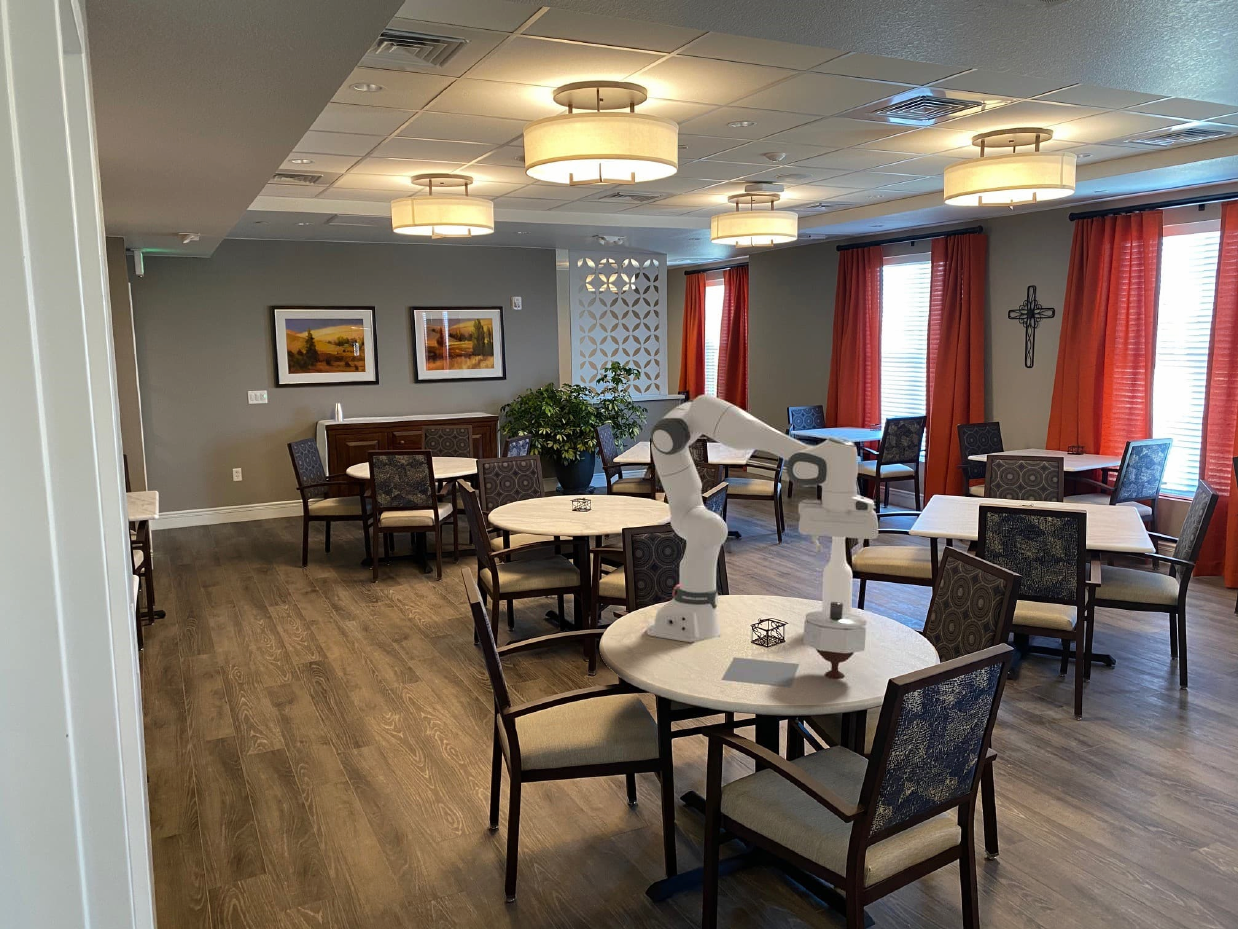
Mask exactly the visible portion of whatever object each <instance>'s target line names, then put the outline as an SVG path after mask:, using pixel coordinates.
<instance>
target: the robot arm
mask: <svg viewBox="0 0 1238 929" xmlns="http://www.w3.org/2000/svg"><path fill="white" fill-rule="evenodd" d="M702 435H704V436H707V437H708V438H711V440H713V441H715V442H717V443H719V444H720V445H722V446H724V447H728V448H731V449H734V450H737V451H738V450H739V451H742V450H743V451H744V450H749V451H750V450H757V451H764V452H768V453H771V454H773V455H774V456H778V457H780V458H781V459H783V460H785V461H787V462H786V466H785V471H786V474H787V477H788V479H789V480H790V482H791V483H793V484H794V485H795V486H799V487H805V488H806V487H811V486H817V485H818V486H820V487H821V489H822V490H821V499H806V498H805V499H804V500H801V501H800V502H799V503H798V508H797V509H798V510H797V511H798V514H799V521H798V522H799V523H798V532H799V534H800V535H804V536H806V535H807V536H811V541H812V542H813V544H814V546H815V552H816V553H823V544H819V540H818V539H819V537H821V536H822V537H833V536H834V537H845V538H850V539H857V542H858V544H857V545H856V546H853V547H852V555H854V556H859V555H860V549H861V547H862V545H863V544H864V541H865V540H867V539H868V540H875V539H877V538H878V536H879V524H878V523H879V522H878V516H877V513H876V511H875V510H874V508H875V502H874V500H873V499H871V498H868V497H864V496H862V495H859V494H858V489H857V488H858V487H857V478H858V473H859V463H858V462H859V457H858V450H857V446H856V445H855V443H853V442H852V441H850V440H847V439H843V438H836V437H830V438H827V439H826V440H825V441H823V442H821V443H819V444H809V443H805V442H803V441H801V440H799V439H797V438H794V437H792V436H790V435H788V434H786V433H783V432H782V431H779V430H777V429H776V428H773V427H771V425H770V426H769V425H768V424H766V423H765V422H763V421H762V420H760V419H758V418H757V417H755V416H753V415H752V414H750V413H748V411H745V410H743V409H742V408H740V407H738V406H736V405H735V404H732V403H730V401H729V402H728V401H726V400H724V399H722V398H720V397H716V396H712V395H709V394H701V395H698V396H697V397H695V398H692V399H688V400H686V401H684V402H682V403H681V404H680V405H677V406H676V407H674V408H673V409H671V410H670V411H669V412H668V413H667V414H666V415H664V416H663V417H662V418H661V419H659V420H658V421H657V422H655V424H654V425H653V427H652V429H651V431H650V440H651V446H650V447H651V454H652V455H651V456H652V459H653V462H654V465H655V469H656V472H657V475H658V477H659V480H660V482H661V486H662V488H663V491H664V492H665V495H666V499H667V501H668V507H669V512H670V520H669V521H670V526H671V528H672V530H674V532H675V533H676V534H677V536H679V537H680V538H682V539H684V540H685V541H686V544H685V546H686V547H685V550H684V554H683V557H682V559H681V561H680V562H679V583H678V584H676V585H675V586H674V588H673V591H672V597H673V598H672V599H671V600H670V601H668V602H666V603H665V604H664V605H662V606H661V607H660V608H659V609H657V612H656V614H655V617H654V621H653V622H651V623H650V624H649V625H648V626H647V629H646V634H647V635H648V636H651V637H657V638H662V639H668V640H674V641H681V642H685V643H694V642H698V641H705V640H712V639H716V638H718V637H720V636H721V634H722V632H721V628H720V625H719V619H718V611H717V610H718V609H717V607H718V604H719V602H718V601H719V599H718V598H719V597H718V596H719V594H718V588H717V565H718V564H717V563H718V560H719V559H718V557H719V554H720V550H721V546H723V544H724V543H725V541H726V540H727V537H728V534H729V531H728V526H727V525H728V524H727V522H725V521H724V519H723V518H722V517H721V516H720V514H718V513H716V512H714V511H712V510H709V509H707V507H706V506H705V504H704V502H703V497H702V496H703V495H702V488H703V483H702V481H701V478H700V475H699V472H698V470H697V468H696V465H695V463H694V459H693V457H692V455H691V453H690V449H689V448H690V447H689V446H691V445H692V444H693V443H696V441H697V439H699V438H700V437H702Z"/></svg>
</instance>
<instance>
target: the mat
mask: <svg viewBox="0 0 1238 929" xmlns="http://www.w3.org/2000/svg"><path fill="white" fill-rule="evenodd" d="M799 665H800V663H796V662H795V663H794V662H793V663H792V662H784V661H774V660H773V661H772V660H765V659H755V658H754V659H753V658H746V657H745V658H744V657H737V656H736V657H735V656H734V657H733V658H732V660H731V662H730V664H729V666H728V667H727V669H726V671H725V673H724V675H722V677H721V681H729V682H738V683H748V684H755V685H765V686H766V685H767V686H773V687H775V686H776V687H784V688H791V687H792V686H793V682H794V680H795V677H796V674H797V670H798V668H799Z"/></svg>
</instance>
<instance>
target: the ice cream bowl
mask: <svg viewBox="0 0 1238 929" xmlns="http://www.w3.org/2000/svg"><path fill="white" fill-rule="evenodd" d="M815 650H816V652H817V653H818V654H819V655H820V656H821V657H822V658H823V659H824V660H825V661H826V662H830V664H831V667H830V668H831V669H830V670H828V671H826V672H825V673H824V674H823V676H825V677H826V678H828V679H832V680H841V679H844V678H845V677H846V675H845V674H844V673H843V672H841V671H840V670H839V665H840V663H844V662H846V661H848V660H849V659H850V658H851V657H852V656H853V655H854V653H855V652H852V653H838V652H830V651H822V650H818V649H815Z"/></svg>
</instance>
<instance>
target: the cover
mask: <svg viewBox="0 0 1238 929" xmlns="http://www.w3.org/2000/svg"><path fill="white" fill-rule="evenodd" d="M804 619H805V620H804V627H803V628H804V629H803V643H802V644H803V645H804V646H805V645H806V646H808V647H810V648H813V649H815V650H816V649H818V650H822V651H830V652H838V653H852V652H854V653H858V652H859V653H860V652H864V651H865V649H866V648H865V647H866V638H867V635H866V634H867V619H865V618H864V617H862V616H860V615H856V614H852V613H851V614H848V613H843V603H840V602H831V604H830V611H822V610H820V611H819V610H817V611H811V612H808V613H806V614H805V618H804Z"/></svg>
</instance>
